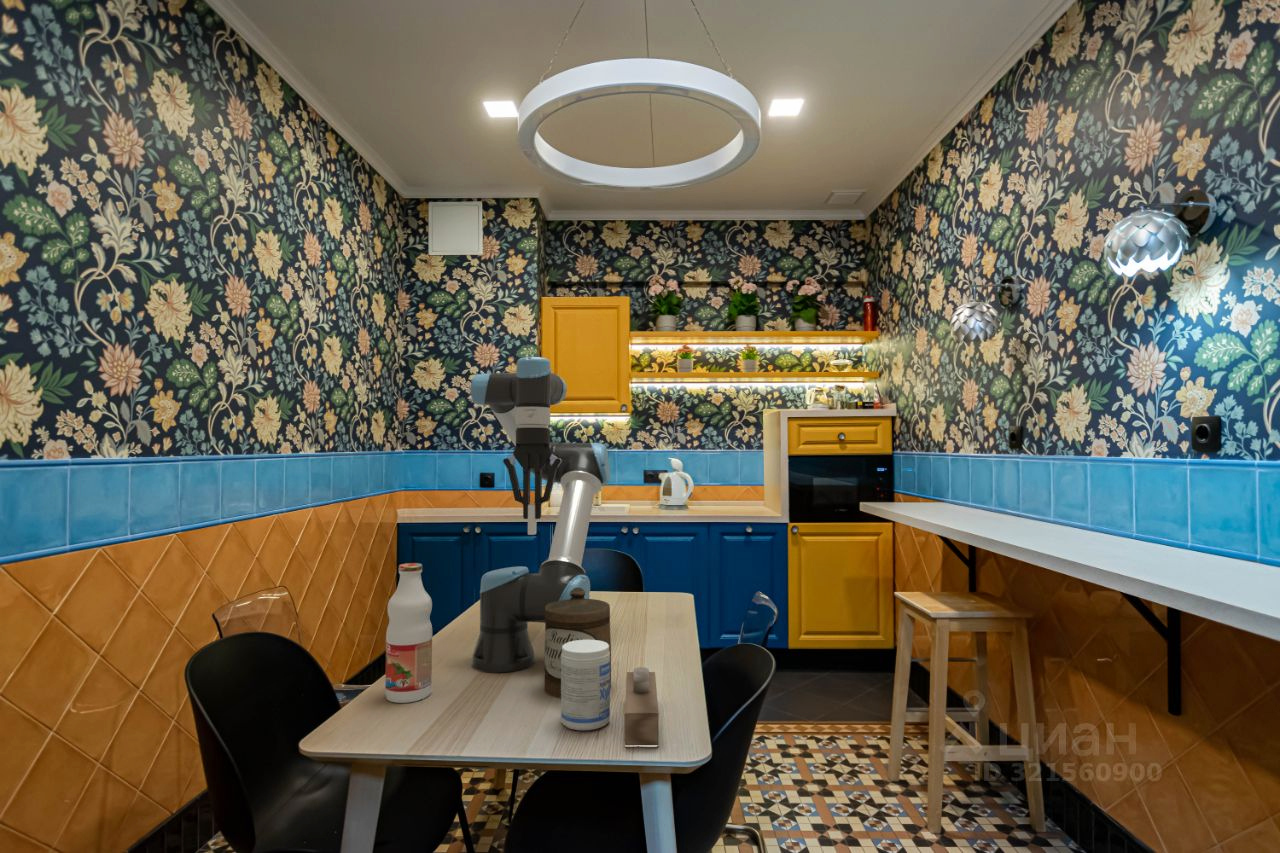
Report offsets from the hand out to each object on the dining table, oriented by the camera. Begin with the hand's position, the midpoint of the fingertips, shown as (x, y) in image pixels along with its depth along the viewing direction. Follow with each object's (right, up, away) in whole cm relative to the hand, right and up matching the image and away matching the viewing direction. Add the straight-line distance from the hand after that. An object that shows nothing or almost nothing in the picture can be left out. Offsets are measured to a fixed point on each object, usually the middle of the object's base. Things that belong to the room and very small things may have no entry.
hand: (532, 533), depth 145 cm
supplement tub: (+13, -34, -17) cm, 40 cm away
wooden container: (+10, -35, +2) cm, 36 cm away
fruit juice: (-26, -35, -4) cm, 43 cm away
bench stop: (+24, -34, -17) cm, 45 cm away
